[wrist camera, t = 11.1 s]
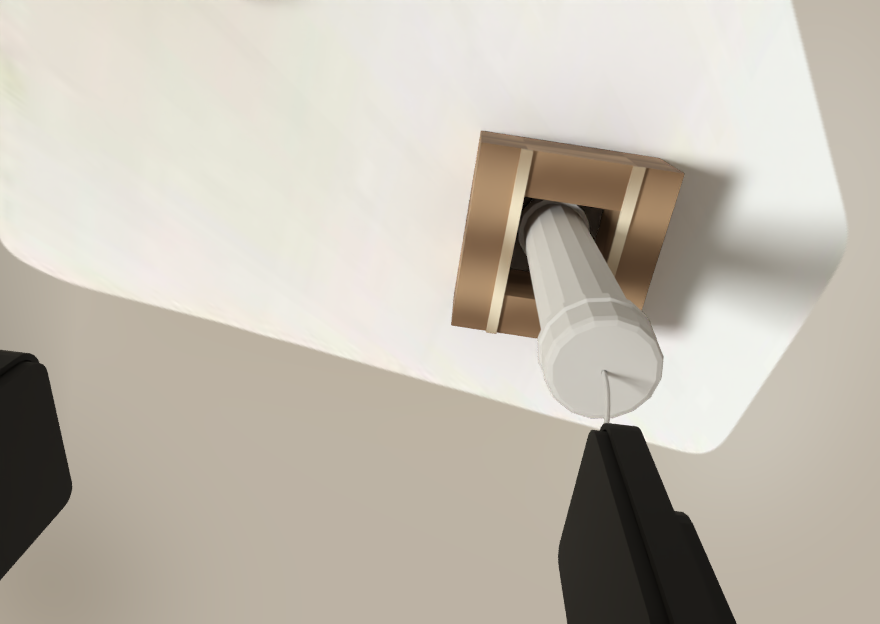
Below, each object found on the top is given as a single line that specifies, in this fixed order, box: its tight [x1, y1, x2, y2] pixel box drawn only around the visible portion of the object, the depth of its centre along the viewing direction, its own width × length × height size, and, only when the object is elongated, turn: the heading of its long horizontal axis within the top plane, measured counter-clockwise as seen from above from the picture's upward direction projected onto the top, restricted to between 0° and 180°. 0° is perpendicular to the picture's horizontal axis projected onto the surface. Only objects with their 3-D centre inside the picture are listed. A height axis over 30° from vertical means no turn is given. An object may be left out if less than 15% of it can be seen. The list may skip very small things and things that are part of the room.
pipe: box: [518, 198, 663, 423], centre depth 34 cm, size 6×6×30 cm
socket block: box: [451, 131, 684, 338], centre depth 45 cm, size 14×14×6 cm
